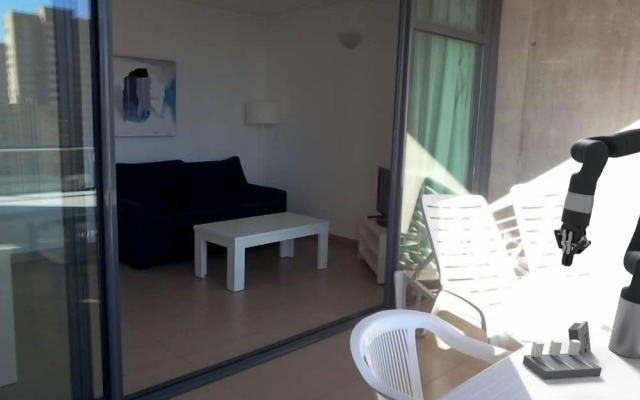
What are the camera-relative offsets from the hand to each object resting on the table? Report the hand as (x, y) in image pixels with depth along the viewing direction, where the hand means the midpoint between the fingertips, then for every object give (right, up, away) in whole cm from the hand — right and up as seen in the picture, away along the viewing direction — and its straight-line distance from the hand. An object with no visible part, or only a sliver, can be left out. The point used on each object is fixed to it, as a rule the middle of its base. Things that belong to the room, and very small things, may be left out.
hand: (566, 265), depth 161 cm
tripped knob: (-6, -25, -4) cm, 26 cm away
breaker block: (-5, -28, -7) cm, 30 cm away
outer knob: (-12, -25, -7) cm, 28 cm away
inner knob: (+1, -26, -3) cm, 26 cm away
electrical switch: (+6, -27, +6) cm, 29 cm away
